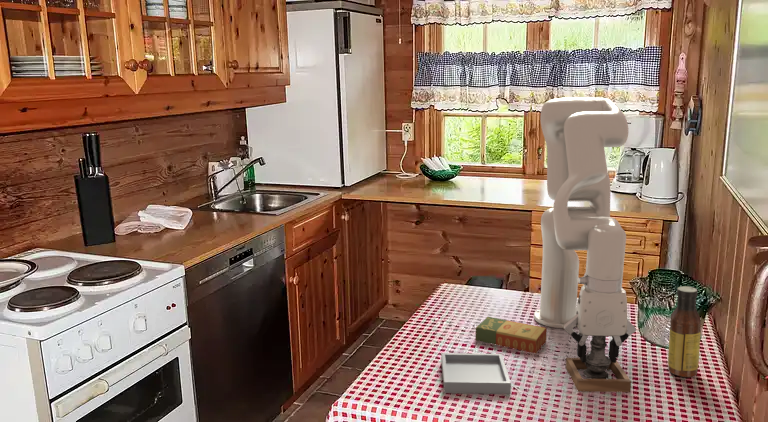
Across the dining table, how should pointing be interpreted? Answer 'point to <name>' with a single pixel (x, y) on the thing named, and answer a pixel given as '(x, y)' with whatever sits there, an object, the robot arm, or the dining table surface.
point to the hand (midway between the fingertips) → (597, 359)
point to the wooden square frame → (598, 384)
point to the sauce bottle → (684, 334)
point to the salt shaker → (597, 359)
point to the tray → (475, 373)
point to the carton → (511, 334)
